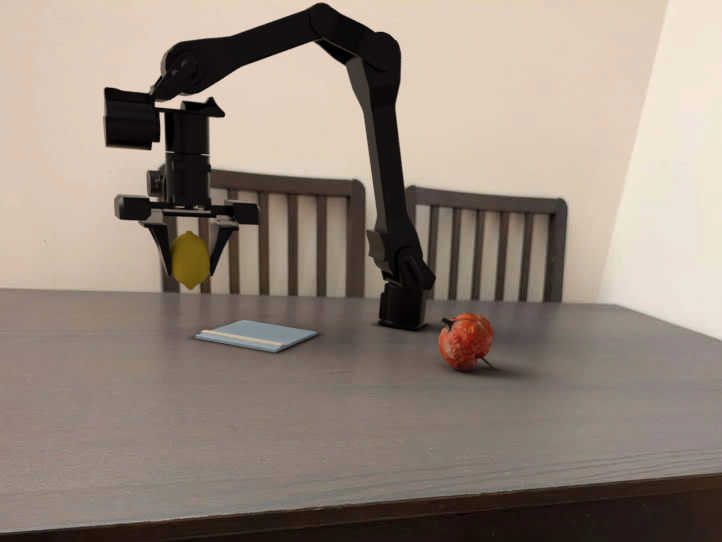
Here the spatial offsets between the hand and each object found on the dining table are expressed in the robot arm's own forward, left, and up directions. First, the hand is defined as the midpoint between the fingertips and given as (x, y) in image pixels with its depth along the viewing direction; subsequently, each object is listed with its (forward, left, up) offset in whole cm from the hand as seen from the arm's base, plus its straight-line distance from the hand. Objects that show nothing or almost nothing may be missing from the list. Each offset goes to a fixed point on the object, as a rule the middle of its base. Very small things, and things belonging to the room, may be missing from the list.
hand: (190, 275), depth 102 cm
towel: (-11, 0, -7) cm, 13 cm away
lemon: (0, 0, -2) cm, 2 cm away
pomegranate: (-40, -2, -7) cm, 41 cm away
